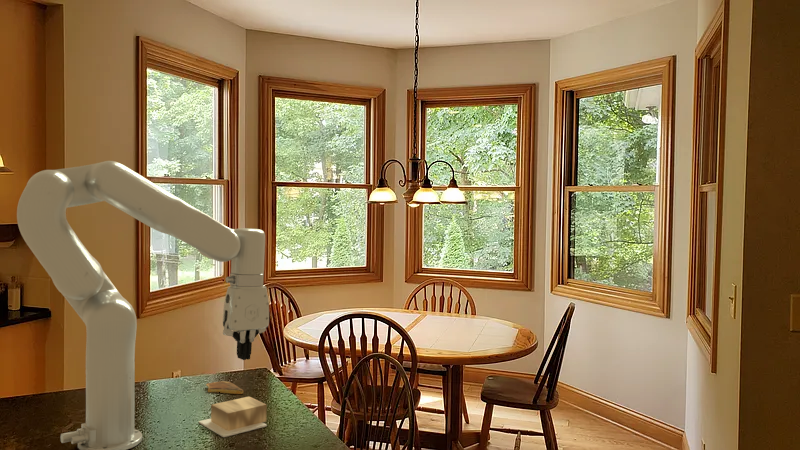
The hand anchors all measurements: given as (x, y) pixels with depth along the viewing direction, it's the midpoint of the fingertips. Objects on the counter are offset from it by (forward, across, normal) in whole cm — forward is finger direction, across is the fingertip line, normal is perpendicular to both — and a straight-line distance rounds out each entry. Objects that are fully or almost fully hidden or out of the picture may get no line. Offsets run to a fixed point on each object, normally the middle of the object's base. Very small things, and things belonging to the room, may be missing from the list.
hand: (243, 358), depth 154 cm
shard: (+16, +10, +26) cm, 32 cm away
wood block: (+13, +4, 0) cm, 13 cm away
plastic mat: (+15, -2, 0) cm, 15 cm away
